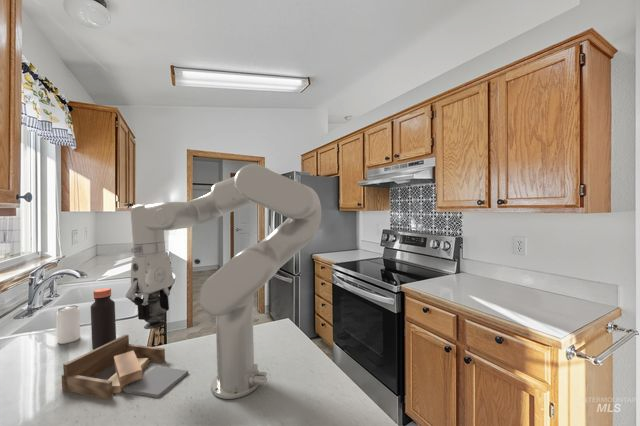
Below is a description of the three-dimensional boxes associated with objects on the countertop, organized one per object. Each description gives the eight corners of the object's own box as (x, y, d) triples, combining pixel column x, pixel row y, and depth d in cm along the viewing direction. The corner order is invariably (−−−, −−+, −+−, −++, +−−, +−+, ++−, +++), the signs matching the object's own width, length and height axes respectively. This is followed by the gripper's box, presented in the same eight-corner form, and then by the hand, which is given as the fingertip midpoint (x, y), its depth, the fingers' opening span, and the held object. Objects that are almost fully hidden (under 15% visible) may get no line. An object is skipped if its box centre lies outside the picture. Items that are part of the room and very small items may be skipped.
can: (77, 334, 112) (76, 303, 112) (83, 339, 108) (81, 307, 108) (55, 341, 107) (53, 308, 106) (60, 346, 103) (58, 312, 103)
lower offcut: (148, 365, 90) (148, 357, 90) (120, 395, 76) (120, 385, 76) (132, 366, 90) (131, 358, 90) (100, 396, 76) (100, 386, 76)
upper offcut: (134, 358, 90) (133, 350, 90) (142, 378, 79) (141, 369, 79) (114, 364, 87) (113, 356, 86) (120, 386, 76) (119, 377, 76)
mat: (188, 373, 84) (188, 370, 84) (158, 397, 74) (158, 394, 74) (156, 368, 87) (156, 366, 87) (123, 391, 77) (123, 388, 77)
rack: (165, 361, 91) (164, 339, 91) (108, 398, 74) (107, 371, 74) (124, 355, 96) (123, 334, 95) (62, 389, 78) (61, 364, 78)
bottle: (116, 347, 101) (114, 290, 101) (91, 353, 97) (89, 294, 97) (116, 340, 107) (114, 286, 106) (93, 345, 103) (90, 289, 102)
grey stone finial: (156, 329, 77) (152, 284, 77) (137, 329, 78) (134, 284, 78) (171, 321, 83) (168, 278, 82) (154, 320, 84) (151, 279, 84)
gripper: (132, 254, 71) (138, 328, 71) (183, 244, 87) (187, 304, 88) (108, 255, 72) (114, 326, 73) (163, 245, 89) (167, 303, 90)
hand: (154, 314), depth 80 cm, fingers closed on grey stone finial, 5 cm apart
